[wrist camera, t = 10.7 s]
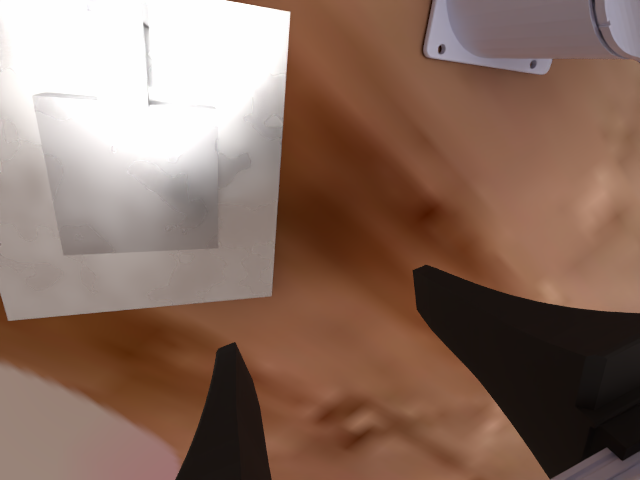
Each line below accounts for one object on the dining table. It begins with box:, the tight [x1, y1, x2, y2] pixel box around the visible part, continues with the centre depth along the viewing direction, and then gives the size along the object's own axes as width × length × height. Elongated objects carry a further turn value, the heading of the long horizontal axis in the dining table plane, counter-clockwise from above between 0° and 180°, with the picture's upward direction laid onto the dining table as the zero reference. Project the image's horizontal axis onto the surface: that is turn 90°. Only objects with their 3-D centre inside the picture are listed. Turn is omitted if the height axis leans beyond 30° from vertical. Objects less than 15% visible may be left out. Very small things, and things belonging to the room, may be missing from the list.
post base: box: [0, 0, 290, 321], centre depth 17 cm, size 14×16×5 cm
